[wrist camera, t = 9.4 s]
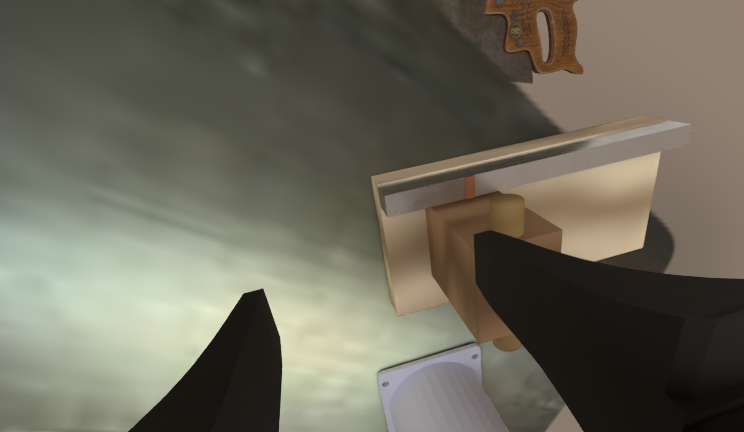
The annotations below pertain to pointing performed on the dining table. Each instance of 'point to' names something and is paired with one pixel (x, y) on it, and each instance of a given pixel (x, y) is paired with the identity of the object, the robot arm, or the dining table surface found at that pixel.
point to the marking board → (530, 196)
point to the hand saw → (518, 33)
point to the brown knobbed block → (457, 261)
